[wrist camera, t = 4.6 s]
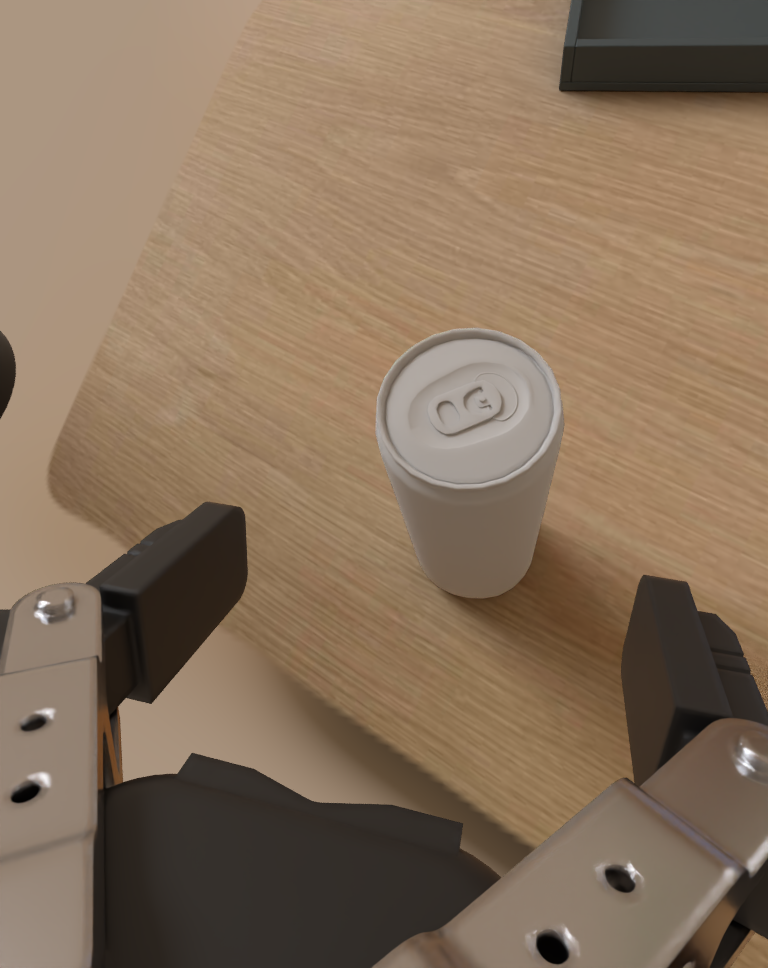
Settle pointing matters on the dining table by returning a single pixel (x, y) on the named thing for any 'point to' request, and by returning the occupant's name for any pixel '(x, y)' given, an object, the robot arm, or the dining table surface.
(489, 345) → the beverage can
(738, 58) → the serving tray
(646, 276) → the dining table surface
